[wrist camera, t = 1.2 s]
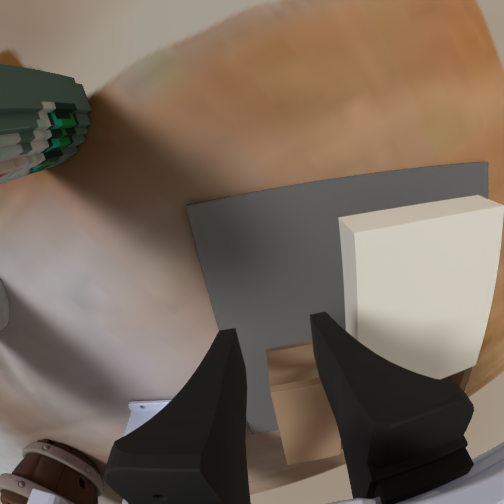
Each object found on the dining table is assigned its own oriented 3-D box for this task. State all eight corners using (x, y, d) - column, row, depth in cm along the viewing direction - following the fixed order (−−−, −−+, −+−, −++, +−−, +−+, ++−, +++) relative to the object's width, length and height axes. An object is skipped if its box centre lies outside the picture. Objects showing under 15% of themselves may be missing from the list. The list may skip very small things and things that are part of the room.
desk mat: (251, 430, 28) (251, 433, 27) (186, 205, 20) (185, 206, 19) (456, 377, 27) (458, 379, 26) (484, 161, 19) (488, 162, 18)
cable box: (282, 426, 27) (287, 465, 23) (265, 349, 23) (270, 392, 19) (440, 384, 26) (459, 414, 22) (457, 302, 23) (486, 332, 18)
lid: (459, 345, 19) (476, 366, 17) (346, 380, 19) (356, 407, 17) (477, 194, 15) (505, 206, 13) (338, 217, 15) (355, 234, 13)
